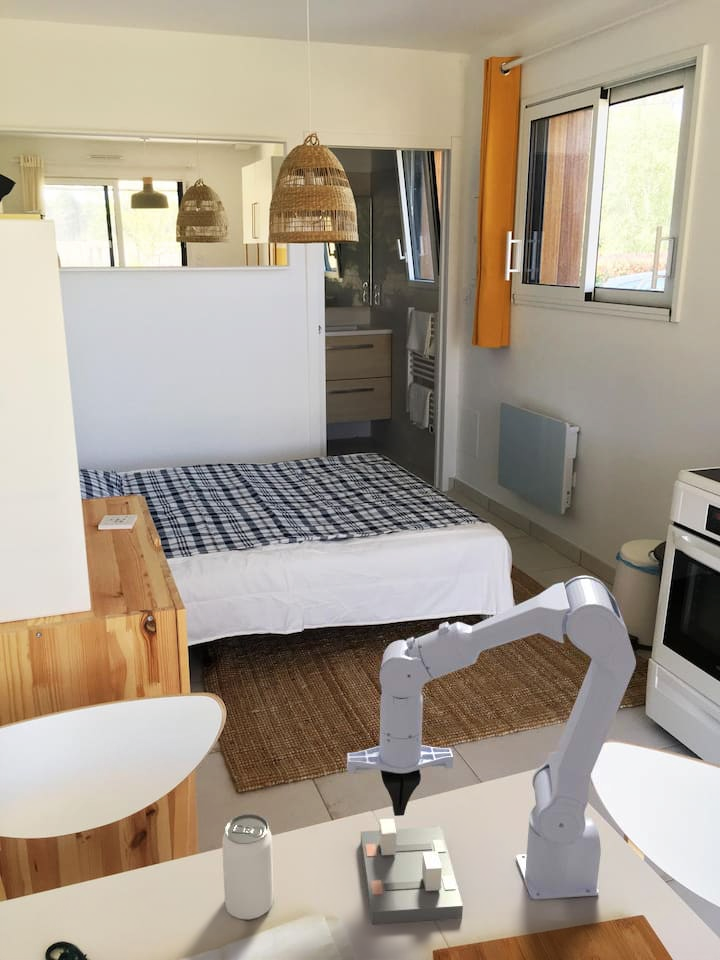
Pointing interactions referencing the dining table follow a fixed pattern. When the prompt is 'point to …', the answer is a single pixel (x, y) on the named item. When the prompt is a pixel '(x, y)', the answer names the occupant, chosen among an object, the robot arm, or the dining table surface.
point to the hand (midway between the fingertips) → (398, 811)
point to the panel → (408, 878)
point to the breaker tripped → (387, 837)
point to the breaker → (431, 871)
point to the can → (248, 866)
